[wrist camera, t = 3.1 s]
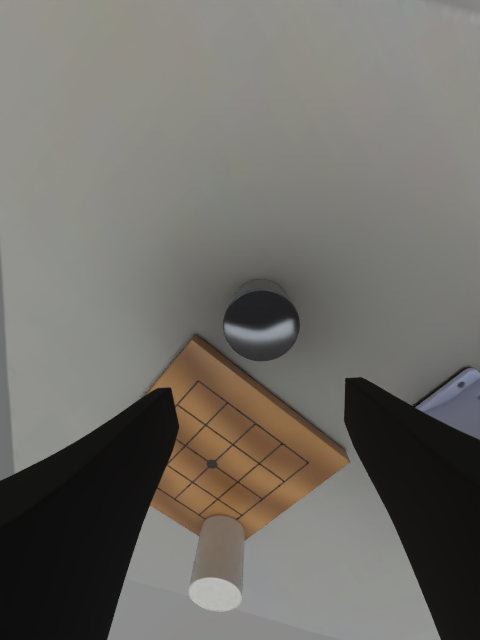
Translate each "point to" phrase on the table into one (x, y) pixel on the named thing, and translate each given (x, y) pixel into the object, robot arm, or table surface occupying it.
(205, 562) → the white stone
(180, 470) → the go board
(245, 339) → the dark grey cylinder
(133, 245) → the table surface
